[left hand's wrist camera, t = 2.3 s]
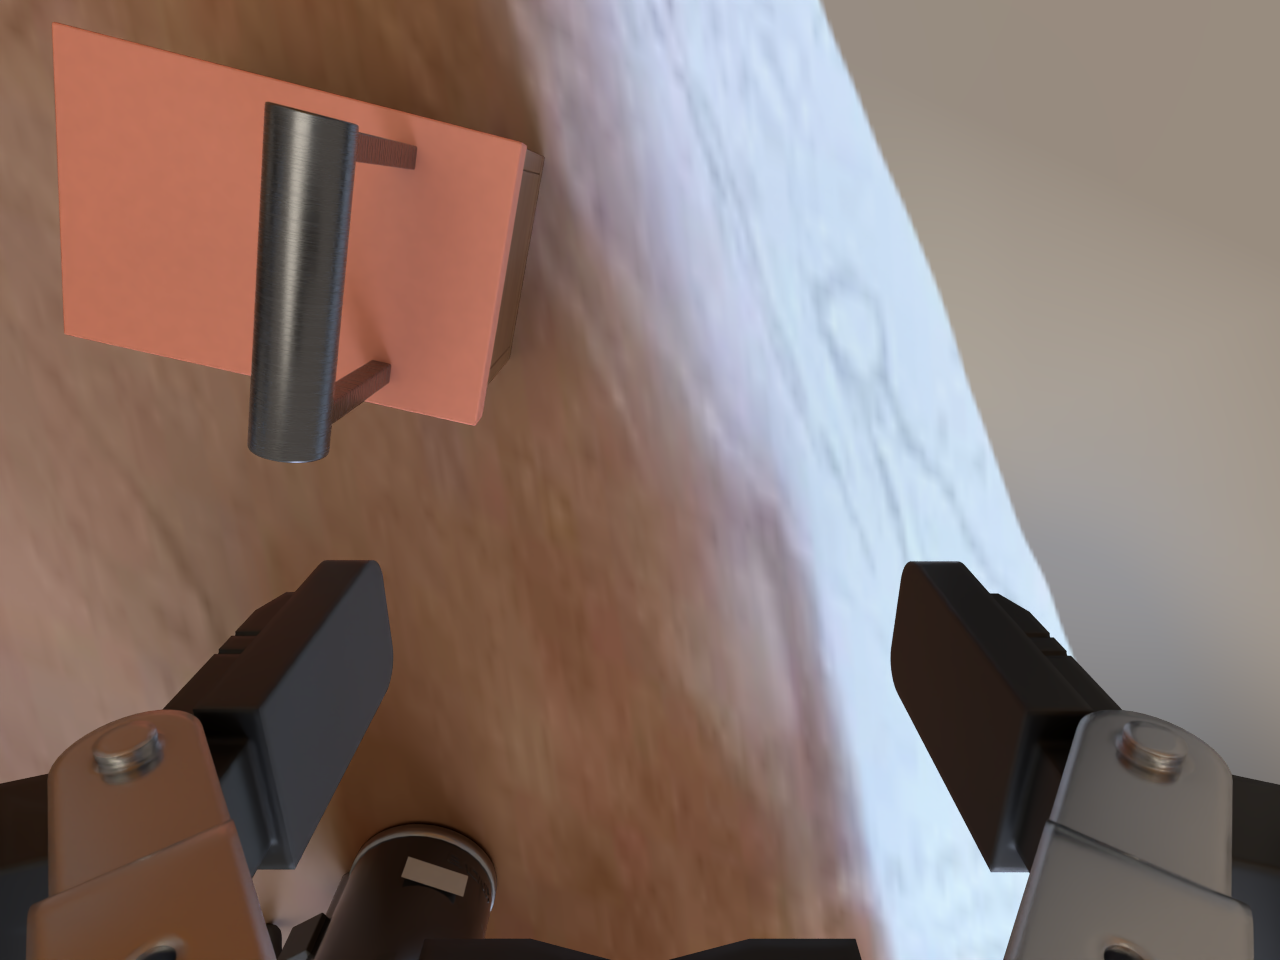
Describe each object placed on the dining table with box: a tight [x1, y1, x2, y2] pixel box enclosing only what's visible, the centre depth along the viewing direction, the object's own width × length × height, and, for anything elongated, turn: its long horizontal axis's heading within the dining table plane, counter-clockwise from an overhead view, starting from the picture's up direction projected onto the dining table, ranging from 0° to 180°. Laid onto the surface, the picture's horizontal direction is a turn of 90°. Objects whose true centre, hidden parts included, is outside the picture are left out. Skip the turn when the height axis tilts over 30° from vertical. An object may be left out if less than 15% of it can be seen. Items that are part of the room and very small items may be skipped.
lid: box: [52, 22, 527, 463], centre depth 21 cm, size 14×9×9 cm
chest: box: [487, 149, 545, 386], centre depth 30 cm, size 14×9×10 cm
